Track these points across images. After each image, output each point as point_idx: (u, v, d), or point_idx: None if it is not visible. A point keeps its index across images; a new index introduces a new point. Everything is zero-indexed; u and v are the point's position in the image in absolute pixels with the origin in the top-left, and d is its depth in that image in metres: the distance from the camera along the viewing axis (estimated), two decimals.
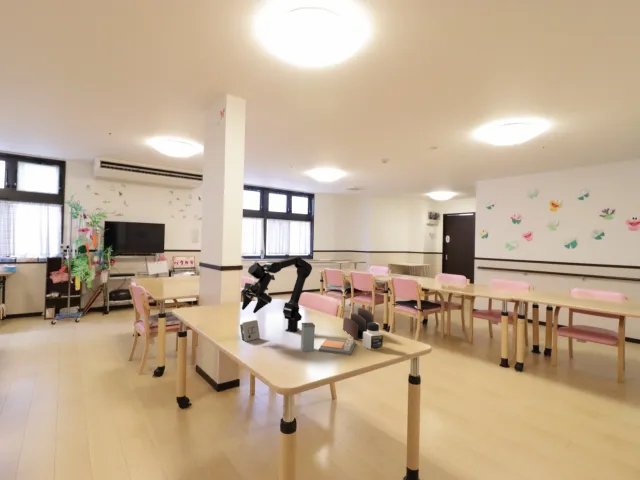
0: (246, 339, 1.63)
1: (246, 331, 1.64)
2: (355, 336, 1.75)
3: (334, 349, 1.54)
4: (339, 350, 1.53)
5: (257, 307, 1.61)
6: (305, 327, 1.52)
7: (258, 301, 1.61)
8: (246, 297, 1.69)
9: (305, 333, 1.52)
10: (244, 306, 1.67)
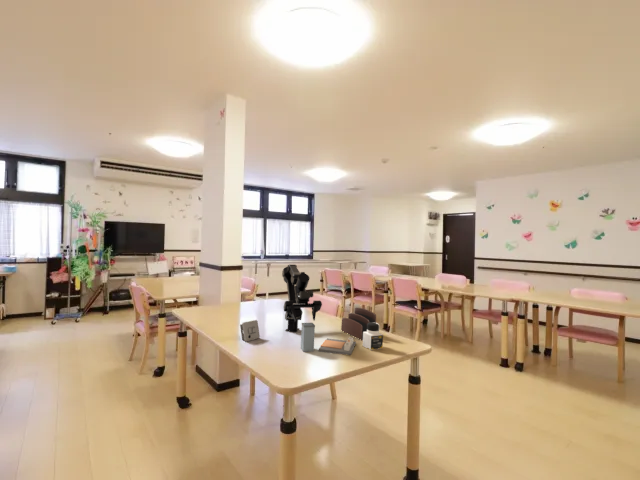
0: (246, 339, 1.63)
1: (246, 331, 1.64)
2: (359, 336, 1.75)
3: (334, 349, 1.54)
4: (339, 350, 1.53)
5: None
6: (305, 327, 1.52)
7: (315, 308, 1.65)
8: None
9: (305, 333, 1.52)
10: None
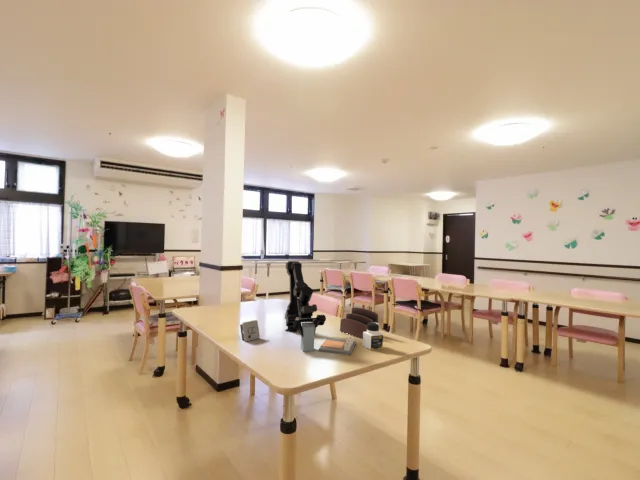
0: (246, 339, 1.63)
1: (246, 331, 1.64)
2: None
3: (334, 349, 1.54)
4: (339, 350, 1.53)
5: (315, 330, 1.56)
6: (305, 327, 1.52)
7: (315, 323, 1.57)
8: None
9: (305, 333, 1.52)
10: None
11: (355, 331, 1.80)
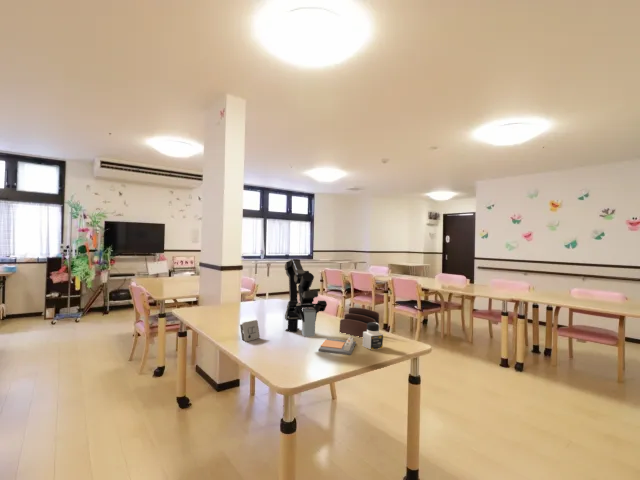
0: (246, 339, 1.63)
1: (246, 331, 1.64)
2: None
3: (334, 349, 1.54)
4: (339, 350, 1.53)
5: (316, 315, 1.56)
6: (306, 312, 1.52)
7: (316, 309, 1.57)
8: None
9: (306, 318, 1.52)
10: None
11: (357, 331, 1.80)
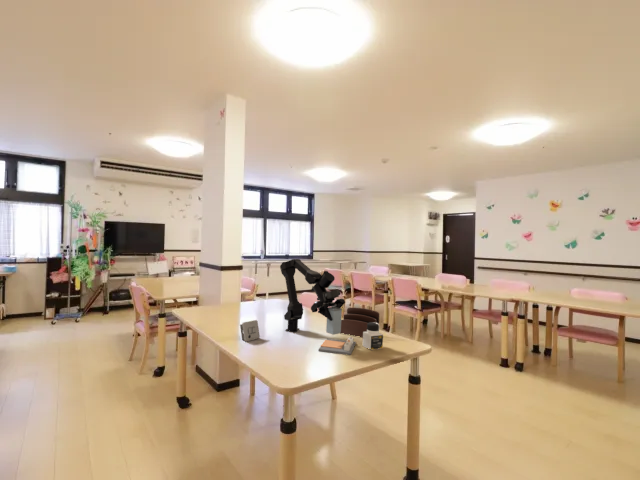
0: (246, 339, 1.63)
1: (246, 331, 1.64)
2: None
3: (334, 349, 1.54)
4: (339, 350, 1.53)
5: None
6: (335, 311, 1.58)
7: (338, 307, 1.65)
8: None
9: (334, 316, 1.58)
10: None
11: (359, 331, 1.80)
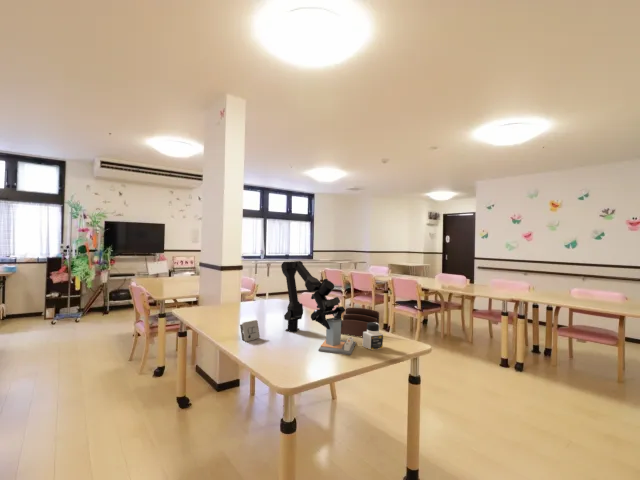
0: (246, 339, 1.63)
1: (246, 331, 1.64)
2: None
3: (334, 349, 1.54)
4: (339, 350, 1.53)
5: None
6: (334, 322, 1.58)
7: (340, 315, 1.65)
8: None
9: (334, 328, 1.58)
10: None
11: (360, 331, 1.80)
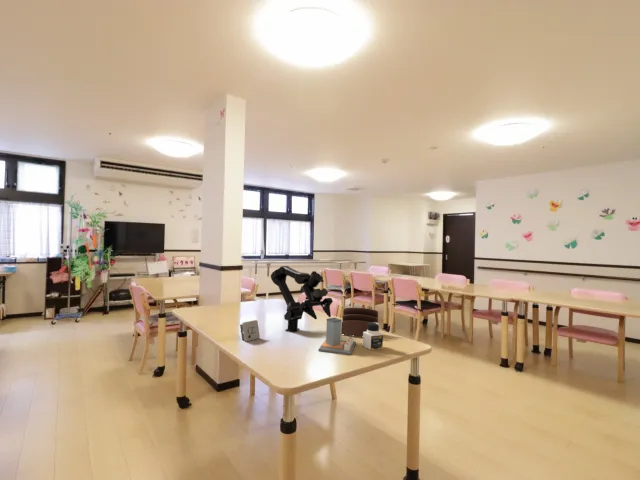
0: (246, 339, 1.63)
1: (246, 331, 1.64)
2: None
3: (334, 349, 1.54)
4: (339, 350, 1.53)
5: None
6: (334, 322, 1.58)
7: (328, 305, 1.73)
8: None
9: (334, 328, 1.58)
10: None
11: (363, 331, 1.80)
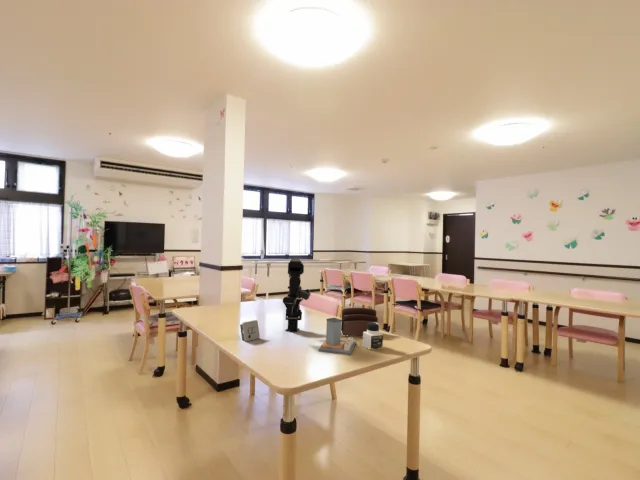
0: (246, 339, 1.63)
1: (246, 331, 1.64)
2: None
3: (334, 349, 1.54)
4: (339, 350, 1.53)
5: None
6: (334, 322, 1.58)
7: None
8: None
9: (334, 328, 1.58)
10: None
11: (364, 331, 1.81)
